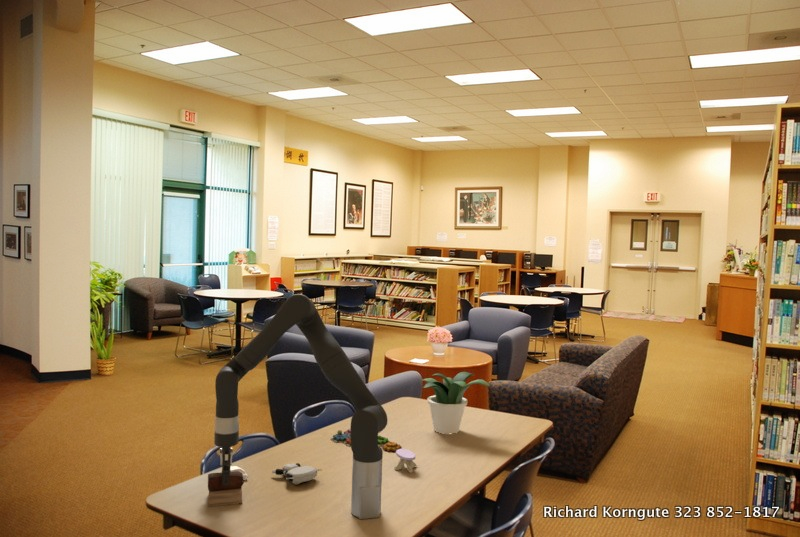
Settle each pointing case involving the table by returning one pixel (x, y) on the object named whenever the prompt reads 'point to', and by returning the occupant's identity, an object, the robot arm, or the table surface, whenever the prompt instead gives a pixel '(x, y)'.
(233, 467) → the car
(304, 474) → the robot toy
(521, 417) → the table surface
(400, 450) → the toy table
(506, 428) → the table surface
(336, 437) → the gear puzzle
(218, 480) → the brick
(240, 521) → the table surface
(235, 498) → the base brick
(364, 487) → the robot arm
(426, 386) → the potted plant
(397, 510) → the table surface
